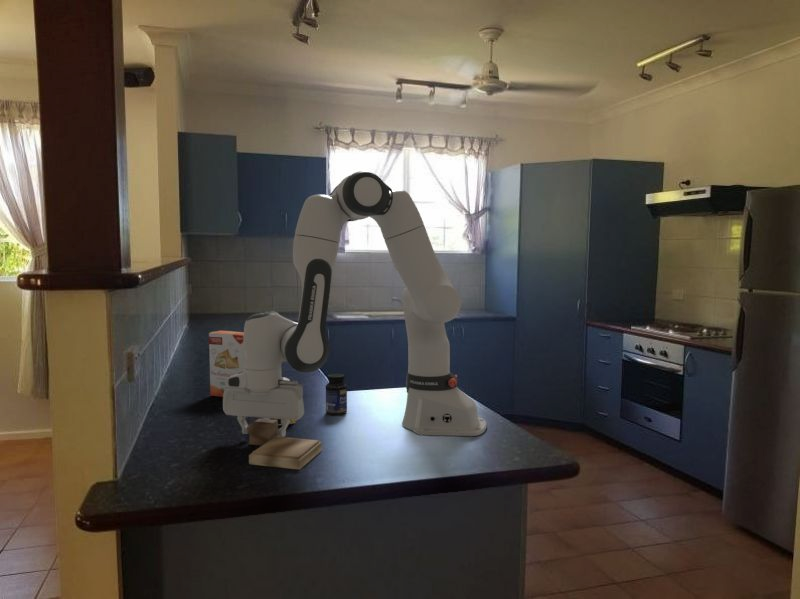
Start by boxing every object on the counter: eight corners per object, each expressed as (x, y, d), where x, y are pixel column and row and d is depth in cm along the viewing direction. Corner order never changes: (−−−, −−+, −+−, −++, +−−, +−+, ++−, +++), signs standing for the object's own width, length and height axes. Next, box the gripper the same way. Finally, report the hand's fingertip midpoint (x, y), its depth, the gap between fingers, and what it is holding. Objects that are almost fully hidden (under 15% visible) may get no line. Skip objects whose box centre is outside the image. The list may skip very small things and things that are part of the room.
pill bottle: (343, 416, 156) (343, 378, 155) (322, 415, 157) (322, 377, 156) (349, 410, 162) (349, 373, 161) (329, 409, 163) (329, 372, 162)
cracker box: (209, 396, 177) (207, 332, 176) (221, 392, 183) (220, 329, 181) (244, 400, 172) (243, 334, 171) (256, 396, 178) (255, 332, 176)
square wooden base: (321, 450, 128) (321, 439, 128) (299, 469, 117) (299, 458, 116) (275, 445, 131) (274, 435, 131) (249, 464, 120) (248, 452, 119)
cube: (278, 439, 136) (277, 420, 136) (268, 446, 131) (268, 425, 131) (259, 438, 137) (259, 418, 137) (249, 444, 132) (249, 424, 132)
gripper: (308, 378, 133) (308, 434, 134) (232, 373, 139) (234, 427, 140) (296, 384, 127) (297, 442, 128) (218, 379, 132) (219, 435, 133)
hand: (263, 434), depth 134 cm, fingers open, 8 cm apart
